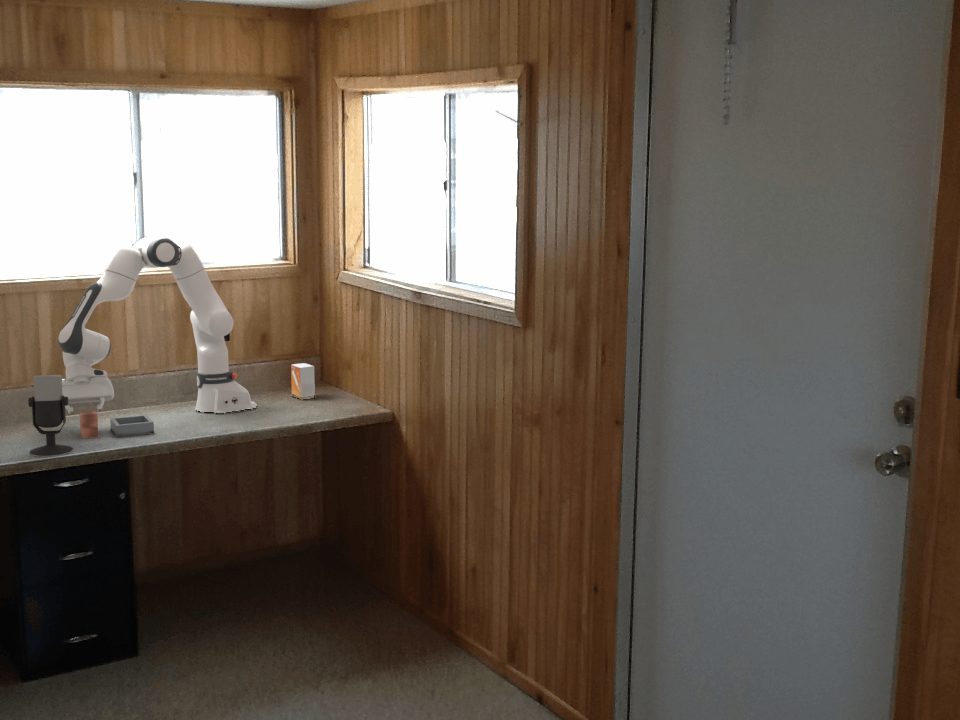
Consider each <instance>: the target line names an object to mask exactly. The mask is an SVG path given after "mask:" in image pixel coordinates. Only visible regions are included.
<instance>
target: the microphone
mask: <svg viewBox="0 0 960 720" xmlns="http://www.w3.org/2000/svg"><path fill="white" fill-rule="evenodd" d="M62 379H63V376H62V375H61V374H48V375H45V374H44V375H41V374H40V375H34V376H33V390H34V391H33V395H32V396H31V397H29V398H28V401H27V403H28V407H30V408H31V415H32V426H33V427H34V428H35V429H36V431H38V433H39V434H40V435H45V441H46V444H45V445H41V446H39V447H35V448H32V449H31V450H30V451H29V455H30V454H31V455H30V456H32V455H33V456H32V457H36V456H54V457H60V456H59V455H61V456H65V455H68V453H69V454H71V453H72V452H74V448H73V446H71V445H64V444H57V443H56V435H57V434H60V432H61V431H62V429H63V428H64V425H65V424H66V420H67V418H66V416H67V415H66V408H65V406H67V405H69V404H68V397H64V395H63V394H62ZM60 425H61V428H60V429H58V430H43V428H44V429H47V428H48V429H49V428H50V429H51V428H57V427H59V426H60ZM70 452H71V453H70ZM64 454H65V455H64Z"/></svg>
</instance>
